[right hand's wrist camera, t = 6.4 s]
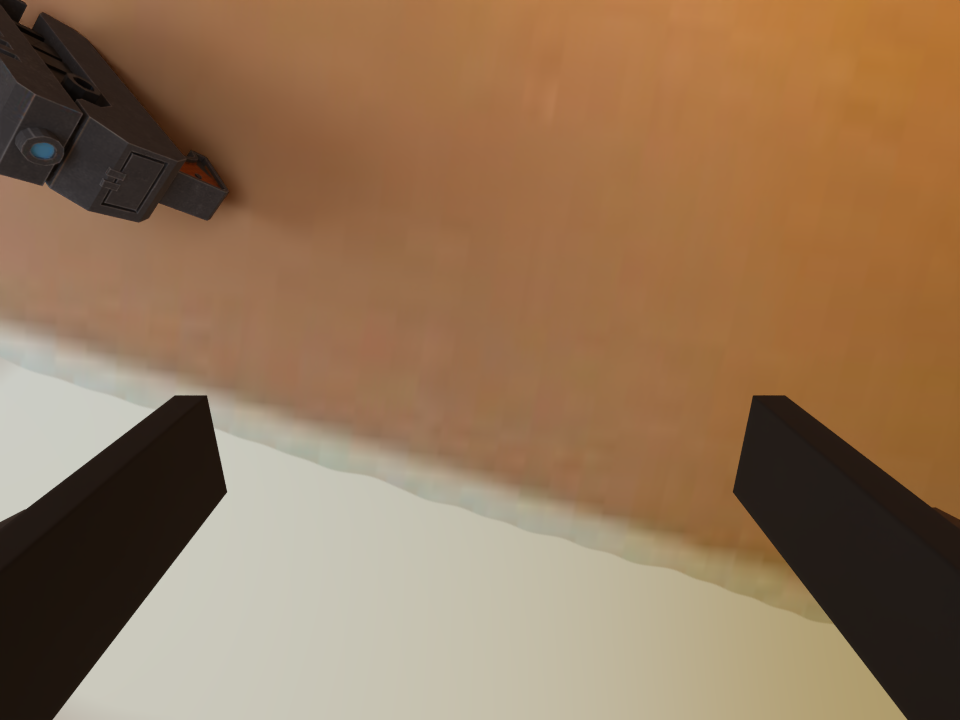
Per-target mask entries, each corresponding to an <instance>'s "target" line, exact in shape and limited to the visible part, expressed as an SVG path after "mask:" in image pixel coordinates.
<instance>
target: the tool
mask: <svg viewBox="0 0 960 720" xmlns="http://www.w3.org/2000/svg"><path fill="white" fill-rule="evenodd" d="M26 6H27V5H26V3H25V2H23V1H21V0H0V174H1V175H4V176H8V177H12V178H15V179H19V180H23V181H26V182H30V183H34V184H38V185H41V186H43V184H44V183H45V182H46V184H47V185H48V186H49V188H50V189H52V190H54V191H56V192H57V193H59V194H61V195H62V196H64V197H66V198H67V199H69V200H71V201H72V202H74V203H76V204H78V205H79V206H81V207H83V208H84V209H86V210H88V211H91V212H96V213H100V214H104V215H109V216H113V217H117V218H122V219H126V220H130V221H135V222H141V221H144V220H146V219H148V218H149V217H150V215H151V214H152V212H153V211H154V209H155V208H156V206H157V205H158V203H160V204H163V205H166V206H168V207H171V208H174V209H177V210H179V211H182V212H185V213H187V214H190V215H193V216H196V217H198V218H201V219H204V220H209V219H211V217H212V216H213V214H214V213H215V211H216V210H217V209H218V207H219V206H220V204H221V203H222V201H223V200H224V198H225V197H226V195H227V194H228V192H229V190H228V189H227V187H226V186H225V184H224V183H223V181H222V180H221V178H220V177H219V175H218V174H217V172H216V171H215V169H214V168H213V166H212V165H211V163H210V162H209V160H208V159H207V158H206V157H205V156H203V155H201V154H199V153H197V152H194V151H192V150H191V151H190V152H189V154H188V155H187V156H184V155H183V154H182V153H181V152H180V151H179V149H178V148H177V147H176V146H175V145H174V143H173V142H172V141H171V140H170V139H169V137H168V136H167V135H166V134H165V133H164V131H163V130H162V129H161V128H160V127H159V125H158V124H157V123H156V122H155V121H154V119H153V118H152V117H151V116H150V115H149V113H148V112H147V111H146V110H145V109H144V107H143V106H142V105H141V104H140V102H139V101H138V100H137V99H136V98H135V96H134V95H133V94H132V93H131V92H130V90H129V89H128V88H127V87H126V86H125V84H124V83H123V82H122V81H121V80H120V78H119V77H118V76H117V75H116V74H115V72H114V71H113V70H112V69H111V68H110V66H109V65H108V64H107V63H106V62H105V60H104V59H103V58H102V57H101V56H100V54H99V53H98V52H97V51H96V50H95V48H94V47H93V46H92V45H91V44H90V42H89V41H88V40H87V39H86V38H84V37H83V36H82V35H80V34H79V33H78V32H76V31H75V30H74V29H72V28H70V27H69V26H67V25H65V24H63V23H61V22H60V21H58V20H56V19H54V18H52V17H51V16H49V15H47V14H45V13H43V12H42V13H40V15H39V17H38V19H37V21H36V22H35V24H34V26H33V28H32V30H31V29H29V28H27V27H25V26H23V25H21V24H20V23H19V21H20V19H21V17H22V15H23V13H24V11H25V8H26Z"/></svg>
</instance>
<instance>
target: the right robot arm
mask: <svg viewBox="0 0 960 720" xmlns="http://www.w3.org/2000/svg"><path fill="white" fill-rule="evenodd" d="M226 493H227V489H226V484H225V480H224V475H223V470H222V465H221V461H220V456H219V451H218V446H217V441H216V437H215V432H214V427H213V422H212V418H211V413H210V408H209V403H208V399H207V396H174V397H172V398H171V399H170V400H168V401H167V402H166V403H165V404H163V405H162V406H161V407H159V408H158V409H157V410H155V411H154V412H153V413H151V414H150V415H149V416H148V417H146V418H145V419H144V420H142V421H141V422H140V423H138V424H137V425H136V426H134V427H133V428H132V429H131V430H129V431H128V432H127V433H125V434H124V435H123V436H121V437H120V438H119V439H117V440H116V441H115V442H114V443H112V444H111V445H110V446H108V447H107V448H106V449H104V450H103V451H102V452H100V453H99V454H98V455H97V456H95V457H94V458H93V459H91V460H90V461H89V462H87V463H86V464H85V465H83V466H82V467H81V468H80V469H78V470H77V471H76V472H74V473H73V474H72V475H70V476H69V477H68V478H66V479H65V480H64V481H63V482H61V483H60V484H59V485H57V486H56V487H55V488H53V489H52V490H51V491H49V492H48V493H47V494H46V495H44V496H43V497H42V498H40V499H39V500H38V501H36V502H35V503H34V504H32V505H31V506H30V507H28V508H27V509H25V510H23V511H21V512H19V513H17V514H15V515H13V516H11V517H9V518H7V519H5V520H3V521H2V522H0V720H53V718H54V717H55V716H56V714H57V713H58V712H59V711H60V709H61V708H62V707H63V705H64V704H65V703H66V701H67V700H68V699H69V697H70V696H71V695H72V694H73V692H74V691H75V690H76V688H77V687H78V686H79V684H80V683H81V682H82V680H83V679H84V678H85V677H86V675H87V674H88V673H89V671H90V670H91V669H92V668H93V666H94V665H95V664H96V662H97V661H98V660H99V658H100V657H101V656H102V654H103V653H104V652H105V650H106V649H107V648H108V647H109V645H110V644H111V643H112V641H113V640H114V639H115V638H116V636H117V635H118V634H119V632H120V631H121V630H122V628H123V627H124V626H125V625H126V623H127V622H128V621H129V619H130V618H131V617H132V615H133V614H134V613H135V611H136V610H137V609H138V608H139V606H140V605H141V604H142V602H143V601H144V600H145V598H146V597H147V596H148V594H149V593H150V592H151V591H152V589H153V588H154V587H155V585H156V584H157V583H158V581H159V580H160V579H161V578H162V576H163V575H164V574H165V572H166V571H167V570H168V568H169V567H170V566H171V565H172V563H173V562H174V561H175V559H176V558H177V557H178V555H179V554H180V553H181V552H182V550H183V549H184V548H185V546H186V545H187V544H188V542H189V541H190V540H191V538H192V537H193V536H194V535H195V533H196V532H197V531H198V529H199V528H200V527H201V525H202V524H203V523H204V522H205V520H206V519H207V518H208V516H209V515H210V514H211V512H212V511H213V510H214V508H215V507H216V506H217V505H218V503H219V502H220V501H221V499H222V498H223V497H224V495H225V494H226ZM733 493H734V494H735V495H736V497H737V498H738V499H739V501H740V502H741V503H742V505H743V506H744V507H745V508H746V510H747V511H748V512H749V514H750V515H751V516H752V518H753V519H754V520H755V522H756V523H757V524H758V525H759V527H760V528H761V529H762V531H763V532H764V533H765V535H766V536H767V537H768V538H769V540H770V541H771V542H772V544H773V545H774V546H775V548H776V549H777V550H778V552H779V553H780V554H781V555H782V557H783V558H784V559H785V561H786V562H787V563H788V565H789V566H790V567H791V568H792V570H793V571H794V572H795V574H796V575H797V576H798V578H799V579H800V580H801V581H802V583H803V584H804V585H805V587H806V588H807V589H808V591H809V592H810V593H811V595H812V596H813V597H814V598H815V600H816V601H817V602H818V604H819V605H820V606H821V608H822V609H823V610H824V611H825V613H826V614H827V615H828V617H829V618H830V619H831V621H832V622H833V623H834V625H835V626H836V627H837V628H838V630H839V631H840V632H841V634H842V635H843V636H844V638H845V639H846V640H847V641H848V643H849V644H850V645H851V647H852V648H853V649H854V651H855V652H856V653H857V654H858V656H859V657H860V658H861V660H862V661H863V662H864V664H865V665H866V666H867V668H868V669H869V670H870V671H871V673H872V674H873V675H874V677H875V678H876V679H877V681H878V682H879V683H880V684H881V686H882V687H883V688H884V690H885V691H886V692H887V694H888V695H889V696H890V697H891V699H892V700H893V701H894V703H895V704H896V705H897V707H898V708H899V709H900V710H901V712H902V713H903V714H904V716H905V717H906V718H907V720H960V520H959V519H957V518H955V517H953V516H951V515H949V514H947V513H945V512H943V511H941V510H940V509H938V508H932V507H930V506H929V505H928V504H926V503H925V502H924V501H922V500H921V499H920V498H918V497H917V496H916V495H915V494H913V493H912V492H911V491H909V490H908V489H907V488H905V487H904V486H903V485H901V484H900V483H899V482H898V481H896V480H895V479H894V478H892V477H891V476H890V475H888V474H887V473H886V472H884V471H883V470H882V469H881V468H879V467H878V466H877V465H875V464H874V463H873V462H871V461H870V460H869V459H867V458H866V457H865V456H863V455H862V454H861V453H860V452H858V451H857V450H856V449H854V448H853V447H852V446H850V445H849V444H848V443H846V442H845V441H844V440H843V439H841V438H840V437H839V436H837V435H836V434H835V433H833V432H832V431H831V430H829V429H828V428H827V427H826V426H824V425H823V424H822V423H820V422H819V421H818V420H816V419H815V418H814V417H812V416H811V415H810V414H809V413H807V412H806V411H805V410H803V409H802V408H801V407H799V406H798V405H797V404H795V403H794V402H793V401H792V400H790V399H789V398H788V397H786V396H753V399H752V403H751V408H750V413H749V418H748V422H747V427H746V432H745V437H744V441H743V446H742V451H741V456H740V461H739V465H738V470H737V475H736V480H735V484H734V489H733Z"/></svg>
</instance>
